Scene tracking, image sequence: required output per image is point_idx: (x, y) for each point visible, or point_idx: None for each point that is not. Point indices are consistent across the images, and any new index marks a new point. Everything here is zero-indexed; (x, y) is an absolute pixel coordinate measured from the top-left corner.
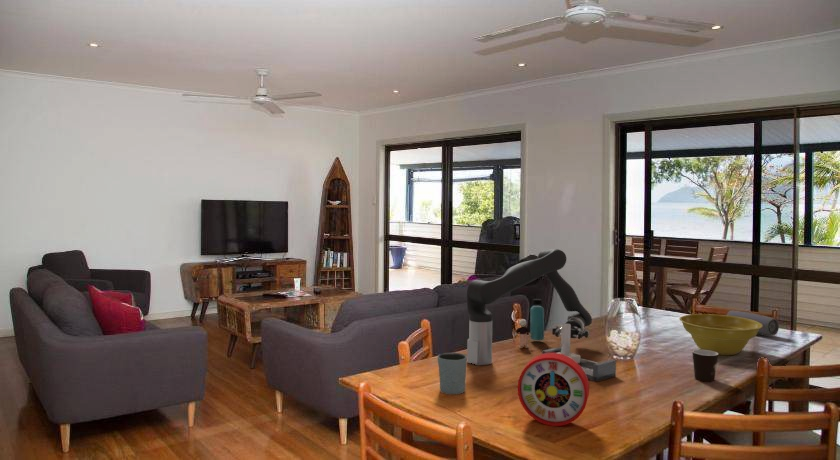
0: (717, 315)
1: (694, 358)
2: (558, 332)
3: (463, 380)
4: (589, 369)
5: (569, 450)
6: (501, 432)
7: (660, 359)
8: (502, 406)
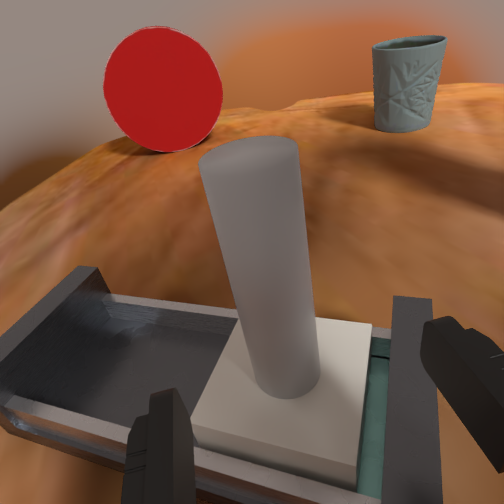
0: None
1: None
2: (445, 352)
3: (375, 101)
4: (124, 297)
5: None
6: (230, 116)
7: None
8: None
